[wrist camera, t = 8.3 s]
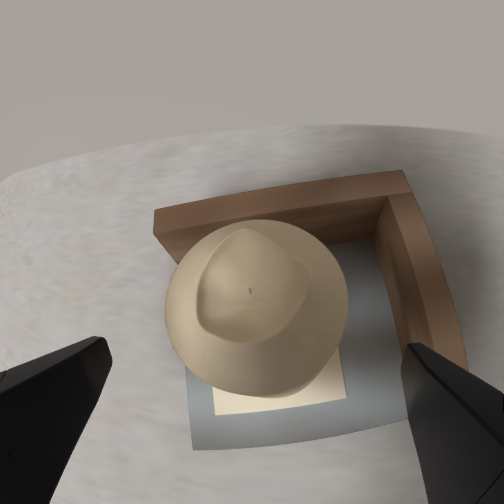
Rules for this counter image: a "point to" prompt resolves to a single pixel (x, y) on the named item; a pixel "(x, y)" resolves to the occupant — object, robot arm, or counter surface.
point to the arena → (359, 314)
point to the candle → (257, 308)
